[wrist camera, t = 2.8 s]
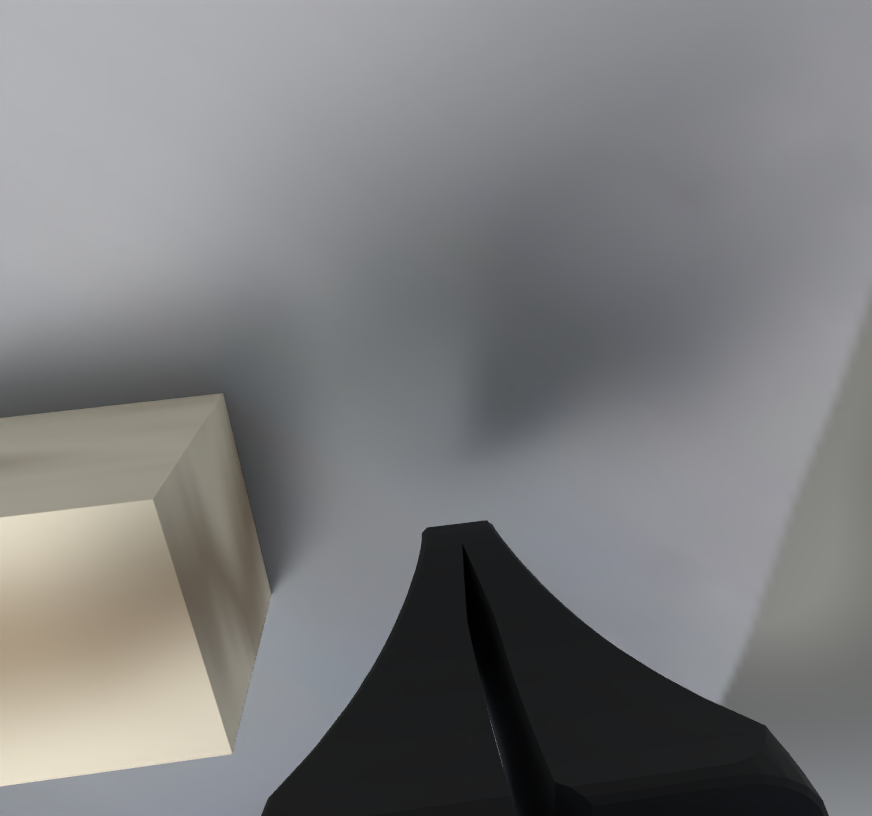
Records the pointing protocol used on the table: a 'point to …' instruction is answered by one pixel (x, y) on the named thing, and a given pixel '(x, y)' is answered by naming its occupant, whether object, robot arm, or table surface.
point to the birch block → (124, 588)
